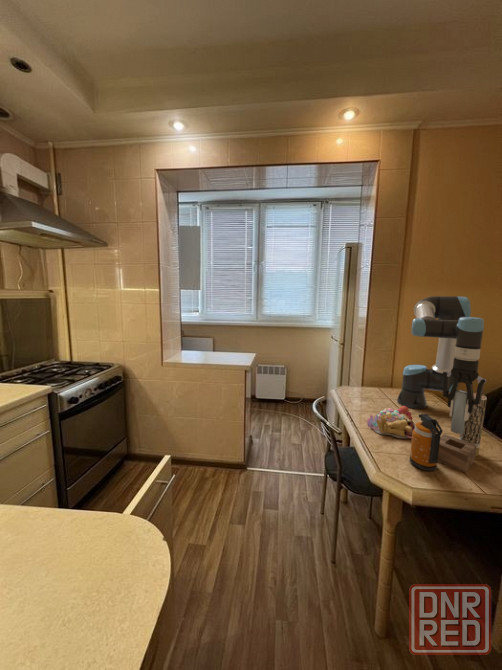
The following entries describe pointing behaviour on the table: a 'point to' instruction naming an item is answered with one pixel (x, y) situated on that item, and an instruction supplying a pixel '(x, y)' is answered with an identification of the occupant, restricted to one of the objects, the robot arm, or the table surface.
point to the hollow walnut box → (456, 452)
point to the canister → (425, 443)
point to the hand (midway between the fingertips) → (458, 417)
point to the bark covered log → (474, 424)
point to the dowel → (459, 412)
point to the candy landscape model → (393, 422)
